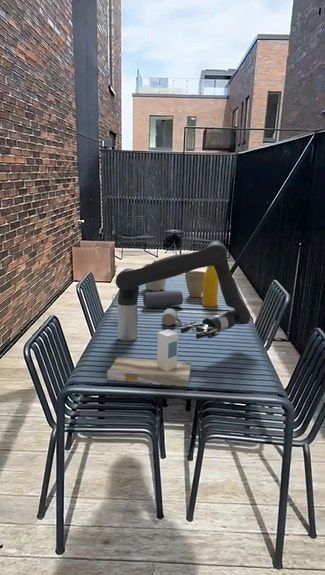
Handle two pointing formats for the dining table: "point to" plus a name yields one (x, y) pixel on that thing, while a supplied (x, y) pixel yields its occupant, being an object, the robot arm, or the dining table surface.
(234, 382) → the dining table surface
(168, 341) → the carton
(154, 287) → the canister
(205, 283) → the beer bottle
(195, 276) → the plant pot
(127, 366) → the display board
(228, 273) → the robot arm
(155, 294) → the bluetooth speaker
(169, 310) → the ceramic mug
